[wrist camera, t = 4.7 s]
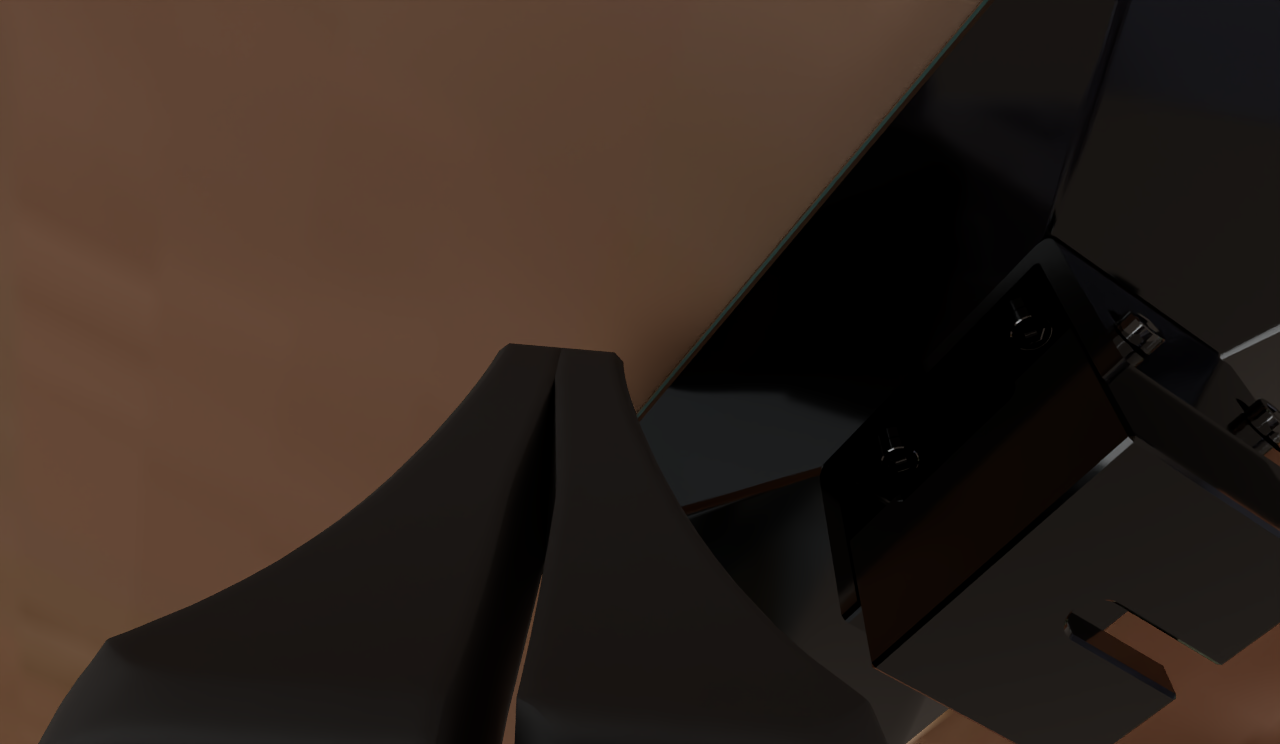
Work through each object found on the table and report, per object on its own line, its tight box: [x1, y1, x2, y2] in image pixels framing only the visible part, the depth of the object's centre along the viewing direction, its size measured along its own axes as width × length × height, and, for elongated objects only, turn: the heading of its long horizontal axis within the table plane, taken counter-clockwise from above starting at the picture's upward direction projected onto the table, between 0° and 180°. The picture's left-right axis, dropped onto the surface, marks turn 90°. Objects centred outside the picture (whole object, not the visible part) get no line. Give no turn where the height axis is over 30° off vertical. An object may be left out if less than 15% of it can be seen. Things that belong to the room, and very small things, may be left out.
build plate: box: [542, 0, 1280, 744], centre depth 14 cm, size 12×7×5 cm, turn 146°
